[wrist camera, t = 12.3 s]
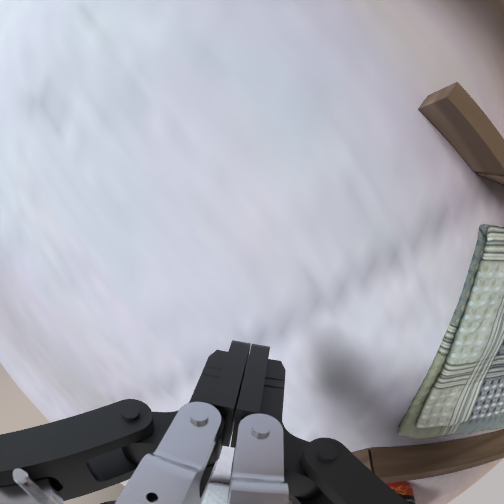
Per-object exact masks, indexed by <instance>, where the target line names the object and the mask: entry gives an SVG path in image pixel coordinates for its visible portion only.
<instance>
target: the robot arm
mask: <svg viewBox="0 0 504 504" xmlns="http://www.w3.org/2000/svg"><path fill="white" fill-rule="evenodd" d="M269 349H270V347H268V346H262V345H256V344H252V346H251V350H250V343H244V342H239V341H234V340H233V341H232V343H231V346H230V349H229V352H225V351H220V350H216V351H215V352H214V353H213V354H211V355H210V356H209V357H208V360H207V362H206V365H205V367H204V369H203V372H202V375H201V376H200V379H199V381H198V383H197V386H196V388H195V390H194V393H193V395H192V398H191V400H190V402H189V403H188V404H185V405H184V406H182V407H181V408H180V410H178V411H175V412H151V409H150V408H149V407H148V405H146V404H145V403H143V402H142V401H139V400H135V399H126V400H122V401H119V402H116V403H113V404H110V405H107V406H104V407H101V408H98V409H95V410H92V411H89V412H86V413H83V414H79V415H76V416H73V417H69V418H66V419H62V420H59V421H55V422H52V423H48V424H44V425H40V426H36V427H32V428H28V429H24V430H20V431H16V432H12V433H6V434H2V435H0V504H63V501H66V500H69V499H73V498H76V497H80V496H83V495H86V494H89V493H92V492H95V491H98V490H101V489H104V488H107V487H109V486H112V485H115V484H117V483H120V482H123V481H125V480H128V479H130V480H129V481H128V483H127V485H126V486H125V488H124V489H123V491H122V493H121V495H120V496H119V498H118V499H117V500H116V501H109V502H104V503H101V504H201V503H202V500H203V497H204V495H205V492H206V490H207V487H208V485H209V482H210V480H211V477H212V475H213V472H214V470H215V467H216V464H217V461H218V459H219V456H220V453H221V449H222V446H228V447H229V444H230V440H231V436H232V441H231V447H234V448H235V451H234V456H233V462H232V469H231V476H230V484H229V491H228V499H227V504H289V499H290V500H291V501H292V502H293V504H409V503H408V502H407V501H406V500H405V499H403V498H402V497H401V496H400V495H399V494H397V493H396V492H395V491H394V490H393V489H391V488H390V487H389V486H388V485H387V484H386V483H384V482H383V481H382V480H381V479H380V478H379V477H378V476H376V475H375V474H374V473H373V472H372V471H371V470H370V469H369V468H368V467H366V466H365V465H364V464H363V463H362V462H361V461H360V460H359V459H358V458H357V457H355V456H354V455H353V454H352V453H351V452H350V451H349V450H348V449H347V448H346V447H345V446H344V445H343V444H341V443H340V442H339V441H337V440H334V439H331V438H318V439H315V440H313V441H311V442H308V441H305V440H302V439H300V438H297V437H295V436H293V435H292V434H290V433H289V432H288V431H287V430H286V429H285V427H284V425H283V423H282V411H283V398H284V384H285V368H284V366H283V364H282V362H281V361H277V360H271V359H268V356H269ZM249 351H250V354H249ZM232 432H233V434H232Z"/></svg>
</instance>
